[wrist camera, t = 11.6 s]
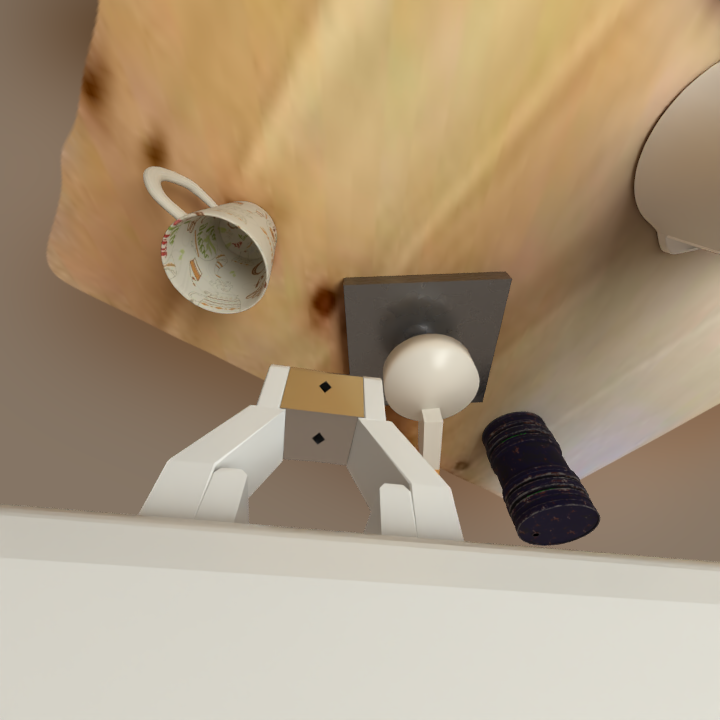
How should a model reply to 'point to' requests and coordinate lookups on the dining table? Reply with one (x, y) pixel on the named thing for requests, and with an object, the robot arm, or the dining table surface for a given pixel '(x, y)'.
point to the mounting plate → (424, 316)
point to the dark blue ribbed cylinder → (537, 481)
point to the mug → (215, 248)
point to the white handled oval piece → (430, 386)
